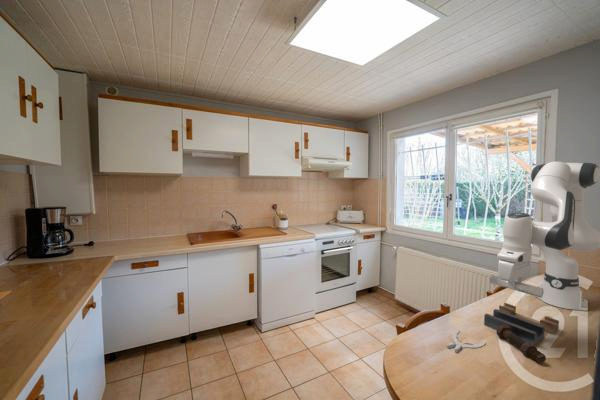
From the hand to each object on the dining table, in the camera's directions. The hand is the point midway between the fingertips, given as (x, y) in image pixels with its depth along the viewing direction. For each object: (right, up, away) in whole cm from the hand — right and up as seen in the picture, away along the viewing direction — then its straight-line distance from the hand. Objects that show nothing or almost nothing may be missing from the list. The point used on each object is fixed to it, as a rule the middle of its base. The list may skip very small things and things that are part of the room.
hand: (514, 287), depth 99 cm
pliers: (-26, -19, -7) cm, 33 cm away
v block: (0, -18, +1) cm, 18 cm away
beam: (+12, -18, +8) cm, 23 cm away
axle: (0, +1, 0) cm, 1 cm away
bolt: (-7, -19, -10) cm, 23 cm away
